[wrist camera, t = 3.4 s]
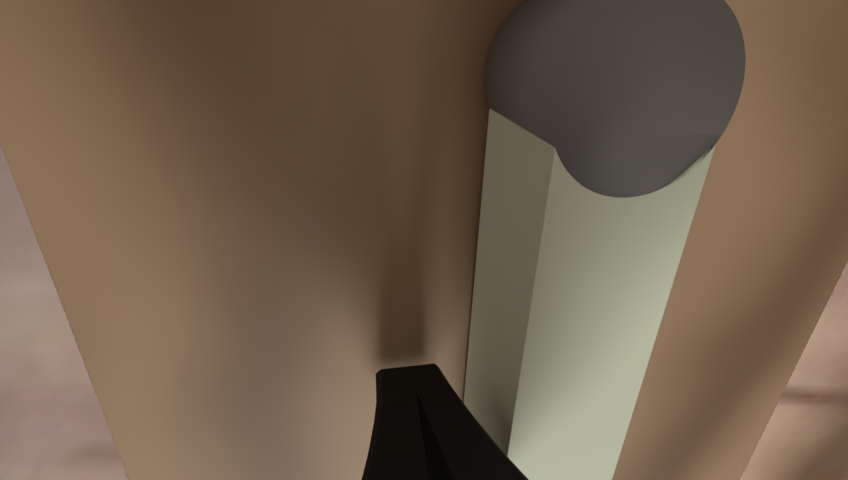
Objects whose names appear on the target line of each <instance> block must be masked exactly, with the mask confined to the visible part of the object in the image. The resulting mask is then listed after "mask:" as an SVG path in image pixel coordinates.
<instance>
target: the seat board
mask: <svg viewBox="0 0 848 480" xmlns="http://www.w3.org/2000/svg"><path fill="white" fill-rule="evenodd" d="M526 1H527V0H0V144H1V146H2V149H3V151H4V154H5V157H6V159H7V162H8V165H9V167H10V170H11V172H12V175H13V178H14V180H15V183H16V186H17V188H18V191H19V193H20V196H21V199H22V201H23V204H24V207H25V209H26V212H27V214H28V217H29V220H30V222H31V225H32V227H33V230H34V233H35V235H36V238H37V241H38V243H39V246H40V248H41V251H42V254H43V256H44V259H45V262H46V264H47V267H48V269H49V272H50V275H51V277H52V280H53V283H54V285H55V288H56V290H57V293H58V296H59V298H60V301H61V304H62V306H63V309H64V311H65V314H66V317H67V319H68V322H69V325H70V327H71V330H72V332H73V335H74V338H75V340H76V343H77V346H78V348H79V351H80V353H81V356H82V359H83V361H84V364H85V366H86V369H87V372H88V374H89V377H90V380H91V382H92V385H93V387H94V390H95V393H96V395H97V398H98V401H99V403H100V406H101V408H102V411H103V414H104V416H105V419H106V422H107V424H108V427H109V429H110V432H111V435H112V437H113V440H114V443H115V445H116V448H117V450H118V453H119V456H120V458H121V461H122V464H123V466H124V469H125V471H126V474H127V477H128V479H129V480H362V476H363V472H364V468H365V464H366V460H367V456H368V451H369V446H370V441H371V435H372V430H373V424H374V418H375V410H376V373H377V372H378V371H379V370H380V369H388V368H397V367H406V366H415V365H424V364H433V363H435V364H436V365H437V366H438V367H439V368H440V370H441V371H442V373H443V374H444V376H445V378H446V379H447V381H448V382H449V384H450V385H451V386H452V388H453V389H454V391H455V392H456V394H457V395H458V396H459V398H460V399H461V400H462V402H463V403H464V392H465V380H466V369H467V358H468V346H469V335H470V323H471V312H472V301H473V289H474V278H475V267H476V255H477V244H478V232H479V221H480V210H481V198H482V187H483V176H484V164H485V153H486V141H487V130H488V119H489V106H488V103H487V98H486V94H485V85H484V78H485V67H486V61H487V57H488V53H489V50H490V47H491V45H492V42H493V40H494V38H495V36H496V34H497V32H498V30H499V29H500V27H501V26H502V25H503V23H504V22H505V20H506V19H507V18H508V17H509V16H510V15H511V13H512V12H513V11H515V10H516V9H517V8H518V7H519V6H520V5H521V4H523V3H524V2H526ZM725 2H726V3H727V4H728V5H729V6H730V8H731V9H732V11H733V13H734V14H735V16H736V18H737V20H738V22H739V25H740V28H741V30H742V34H743V39H744V44H745V55H746V62H745V75H744V82H743V87H742V91H741V94H740V98H739V101H738V104H737V106H736V109H735V112H734V114H733V116H732V118H731V120H730V122H729V124H728V126H727V128H726V129H725V131H724V133H723V134H722V136H721V138H720V139H719V140H718V142H717V143H716V146H715V149H714V152H713V156H712V159H711V162H710V165H709V168H708V172H707V175H706V178H705V181H704V185H703V188H702V191H701V194H700V197H699V201H698V204H697V207H696V210H695V214H694V217H693V220H692V223H691V226H690V230H689V233H688V236H687V239H686V243H685V246H684V249H683V252H682V256H681V259H680V262H679V265H678V268H677V272H676V275H675V278H674V281H673V285H672V288H671V291H670V294H669V297H668V301H667V304H666V307H665V310H664V314H663V317H662V320H661V323H660V327H659V330H658V333H657V336H656V339H655V343H654V346H653V349H652V352H651V356H650V359H649V362H648V365H647V368H646V372H645V375H644V378H643V381H642V385H641V388H640V391H639V394H638V398H637V401H636V404H635V407H634V410H633V414H632V417H631V420H630V423H629V427H628V430H627V433H626V436H625V439H624V443H623V446H622V449H621V452H620V456H619V459H618V462H617V465H616V469H615V472H614V475H613V478H612V480H740V478H741V476H742V474H743V472H744V470H745V468H746V466H747V464H748V462H749V460H750V458H751V456H752V454H753V452H754V450H755V448H756V446H757V444H758V442H759V440H760V438H761V436H762V434H763V432H764V430H765V428H766V426H767V424H768V422H769V420H770V418H771V416H772V414H773V412H774V409H775V407H776V405H777V403H778V401H779V399H780V397H781V395H782V393H783V391H784V389H785V387H786V385H787V383H788V381H789V379H790V377H791V375H792V373H793V371H794V369H795V367H796V365H797V363H798V361H799V359H800V357H801V355H802V353H803V351H804V349H805V347H806V345H807V343H808V340H809V338H810V336H811V334H812V332H813V330H814V328H815V326H816V324H817V322H818V320H819V318H820V316H821V314H822V312H823V310H824V308H825V306H826V304H827V302H828V300H829V298H830V296H831V294H832V292H833V290H834V288H835V286H836V284H837V282H838V280H839V278H840V276H841V274H842V271H843V269H844V267H845V265H846V263H847V261H848V0H725Z"/></svg>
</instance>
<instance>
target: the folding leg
mask: <svg viewBox="0 0 848 480" xmlns="http://www.w3.org/2000/svg"><path fill="white" fill-rule="evenodd" d="M745 62H746V55H745V44H744V39H743V34H742V30H741V28H740V25H739V22H738V20H737V18H736V16H735V14H734V13H733V11H732V9H731V8H730V6H729V5H728V4H727V3H726V2H725V0H527V1H526V2H524V3H523V4H521V5H520V6H519V7H518V8H517V9H516V10H515V11H513V12H512V13H511V15H510V16H509V17H508V18H507V19H506V20H505V22H504V23H503V25H502V26H501V27H500V29H499V30H498V32H497V34H496V36H495V38H494V40H493V42H492V45H491V47H490V50H489V53H488V57H487V61H486V67H485V78H484V85H485V94H486V98H487V103H488V106H489V119H488V130H487V141H486V153H485V164H484V176H483V187H482V198H481V210H480V221H479V232H478V244H477V255H476V267H475V278H474V289H473V301H472V312H471V323H470V335H469V346H468V358H467V369H466V380H465V392H464V404H465V406H466V407H467V408H468V410H469V411H470V412H471V414H472V415H473V416H474V418H475V419H476V420H477V421H478V422H479V424H480V425H481V426H482V427H483V429H484V430H485V431H486V432H487V433H488V435H489V436H490V437H491V438H492V440H493V441H494V442H495V443H496V444H497V445H498V447H499V448H500V449H501V450H502V451H503V452H504V453H505V455H506V456H507V457H508V458H509V459H510V460H511V461H512V462H513V463H514V464H515V465H516V467H517V468H518V469H519V470H520V471H521V472H522V473H523V474H524V475H525V476H526V477H527V478H528V479H529V480H612V478H613V475H614V472H615V469H616V465H617V462H618V459H619V456H620V452H621V449H622V446H623V443H624V439H625V436H626V433H627V430H628V427H629V423H630V420H631V417H632V414H633V410H634V407H635V404H636V401H637V398H638V394H639V391H640V388H641V385H642V381H643V378H644V375H645V372H646V368H647V365H648V362H649V359H650V356H651V352H652V349H653V346H654V343H655V339H656V336H657V333H658V330H659V327H660V323H661V320H662V317H663V314H664V310H665V307H666V304H667V301H668V297H669V294H670V291H671V288H672V285H673V281H674V278H675V275H676V272H677V268H678V265H679V262H680V259H681V256H682V252H683V249H684V246H685V243H686V239H687V236H688V233H689V230H690V226H691V223H692V220H693V217H694V214H695V210H696V207H697V204H698V201H699V197H700V194H701V191H702V188H703V185H704V181H705V178H706V175H707V172H708V168H709V165H710V162H711V159H712V156H713V152H714V149H715V146H716V143H717V142H718V140H719V139H720V138H721V136H722V134H723V133H724V131H725V129H726V128H727V126H728V124H729V122H730V120H731V118H732V116H733V114H734V112H735V109H736V106H737V104H738V101H739V98H740V94H741V91H742V87H743V82H744V75H745Z"/></svg>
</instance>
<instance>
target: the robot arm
mask: <svg viewBox="0 0 848 480" xmlns="http://www.w3.org/2000/svg"><path fill="white" fill-rule="evenodd" d="M362 480H529V479H528V478H527V477H526V476H525V475H524V474H523V473H522V472H521V471H520V470H519V469H518V468H517V467H516V465H515V464H514V463H513V462H512V461H511V460H510V459H509V458H508V457H507V456H506V455H505V453H504V452H503V451H502V450H501V449H500V448H499V447H498V445H497V444H496V443H495V442H494V441H493V440H492V438H491V437H490V436H489V435H488V433H487V432H486V431H485V430H484V429H483V427H482V426H481V425H480V424H479V422H478V421H477V420H476V419H475V418H474V416H473V415H472V414H471V412H470V411H469V410H468V408H467V407H466V406H465V404H464V403H463V402H462V400H461V399H460V398H459V396H458V395H457V394H456V392H455V391H454V389H453V388H452V386H451V385H450V384H449V382H448V381H447V379H446V378H445V376H444V374H443V373H442V371H441V370H440V368H439V367H438V366H437V365H436V364H435V363H433V364H424V365H415V366H406V367H397V368H388V369H380V370H379V371H378V372H377V373H376V410H375V418H374V424H373V430H372V435H371V441H370V446H369V451H368V456H367V460H366V464H365V468H364V472H363V476H362Z"/></svg>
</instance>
